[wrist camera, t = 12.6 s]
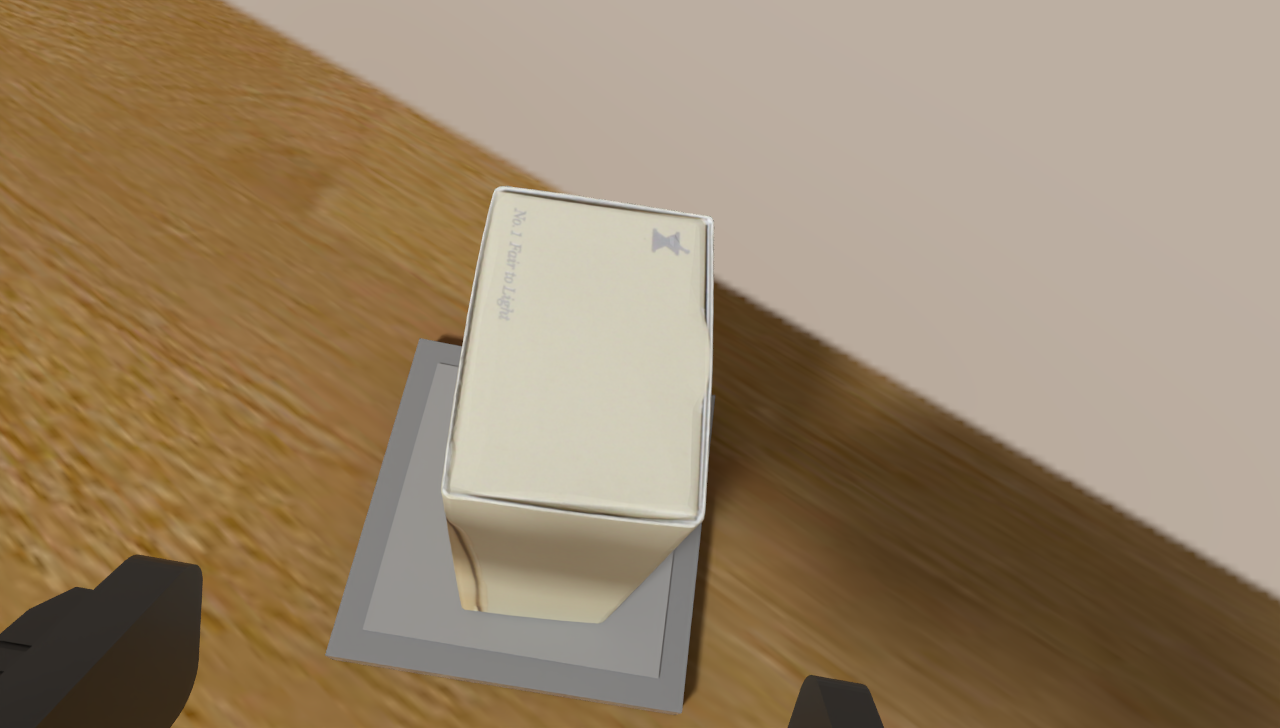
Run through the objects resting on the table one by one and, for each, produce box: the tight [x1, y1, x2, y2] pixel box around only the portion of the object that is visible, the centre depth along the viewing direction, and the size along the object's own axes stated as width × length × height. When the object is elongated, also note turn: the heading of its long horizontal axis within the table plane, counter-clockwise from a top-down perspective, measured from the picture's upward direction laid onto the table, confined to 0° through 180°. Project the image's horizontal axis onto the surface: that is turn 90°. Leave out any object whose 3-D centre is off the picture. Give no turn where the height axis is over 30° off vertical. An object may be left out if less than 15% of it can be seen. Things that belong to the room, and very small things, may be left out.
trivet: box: [325, 338, 715, 715], centre depth 25 cm, size 10×10×1 cm
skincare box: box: [441, 186, 714, 624], centre depth 19 cm, size 6×4×12 cm
